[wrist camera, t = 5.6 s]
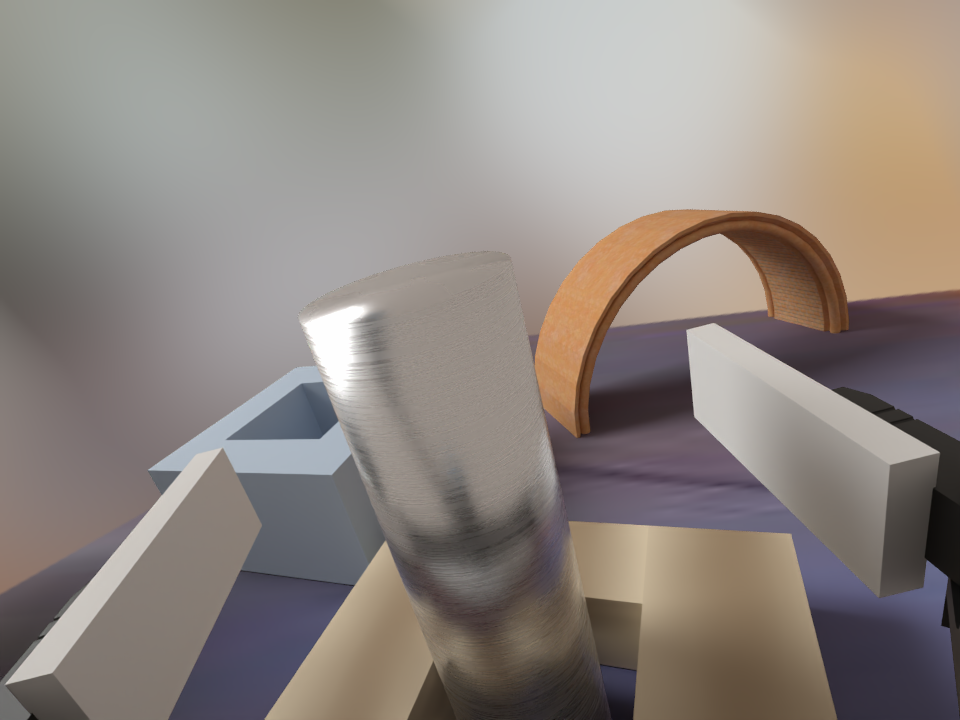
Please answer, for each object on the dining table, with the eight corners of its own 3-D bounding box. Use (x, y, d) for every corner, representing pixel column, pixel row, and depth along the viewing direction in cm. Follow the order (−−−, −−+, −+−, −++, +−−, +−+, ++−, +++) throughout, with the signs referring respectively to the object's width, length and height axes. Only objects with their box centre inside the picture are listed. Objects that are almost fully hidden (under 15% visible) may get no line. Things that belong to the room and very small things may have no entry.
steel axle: (458, 810, 14) (249, 335, 8) (502, 670, 17) (372, 268, 12) (608, 859, 12) (463, 307, 7) (624, 693, 15) (534, 240, 10)
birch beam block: (213, 945, 12) (155, 880, 11) (424, 564, 22) (404, 511, 21) (956, 1366, 7) (986, 1319, 6) (791, 603, 17) (790, 533, 16)
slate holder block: (202, 565, 26) (147, 470, 24) (327, 444, 35) (296, 367, 33) (379, 588, 22) (331, 474, 19) (469, 443, 31) (444, 354, 29)
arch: (851, 332, 33) (858, 172, 29) (576, 440, 29) (543, 271, 25) (777, 313, 38) (774, 175, 34) (536, 402, 34) (504, 258, 30)
